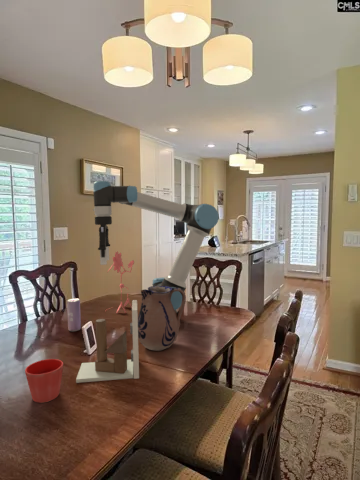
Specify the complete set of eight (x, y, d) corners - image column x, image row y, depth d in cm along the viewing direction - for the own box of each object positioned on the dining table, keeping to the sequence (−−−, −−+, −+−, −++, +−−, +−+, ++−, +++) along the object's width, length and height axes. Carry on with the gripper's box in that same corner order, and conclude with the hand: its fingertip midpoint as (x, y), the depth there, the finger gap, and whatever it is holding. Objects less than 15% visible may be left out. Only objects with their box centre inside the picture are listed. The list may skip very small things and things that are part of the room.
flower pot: (34, 387, 105) (32, 359, 104) (68, 385, 106) (67, 357, 105) (21, 407, 95) (19, 375, 94) (59, 404, 96) (57, 373, 95)
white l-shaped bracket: (138, 361, 123) (137, 299, 121) (139, 378, 110) (137, 310, 108) (82, 365, 120) (79, 302, 118) (75, 383, 107) (72, 313, 105)
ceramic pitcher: (132, 342, 141) (131, 286, 139) (176, 334, 149) (175, 282, 147) (144, 358, 125) (142, 295, 123) (192, 349, 133) (192, 290, 131)
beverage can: (83, 328, 160) (82, 298, 159) (75, 332, 155) (74, 301, 153) (73, 326, 162) (72, 297, 161) (65, 331, 156) (64, 300, 155)
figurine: (139, 304, 200) (136, 248, 197) (121, 317, 175) (117, 254, 173) (116, 303, 204) (113, 249, 202) (95, 316, 179) (92, 254, 177)
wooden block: (123, 374, 111) (122, 323, 109) (95, 371, 113) (93, 321, 112) (127, 369, 114) (126, 319, 113) (99, 366, 117) (97, 318, 115)
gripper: (97, 215, 157) (99, 258, 159) (90, 216, 132) (93, 267, 134) (113, 215, 158) (115, 258, 160) (109, 215, 133) (111, 266, 135)
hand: (105, 262), depth 147 cm, fingers open, 13 cm apart
